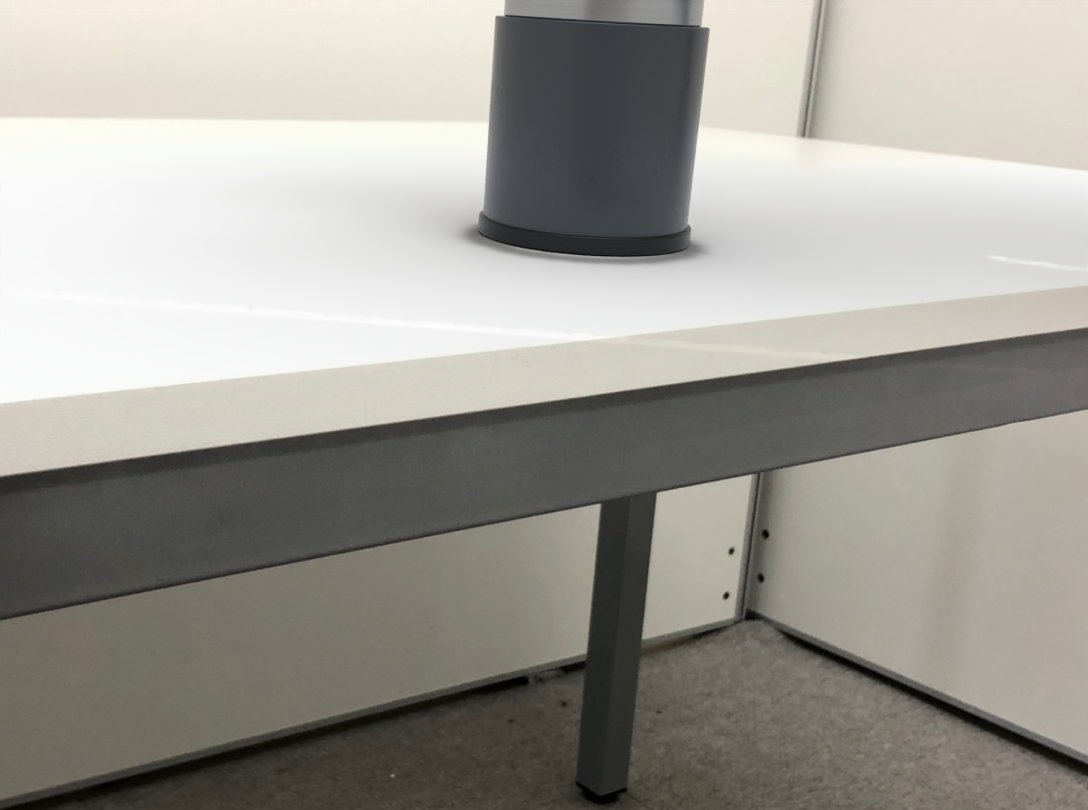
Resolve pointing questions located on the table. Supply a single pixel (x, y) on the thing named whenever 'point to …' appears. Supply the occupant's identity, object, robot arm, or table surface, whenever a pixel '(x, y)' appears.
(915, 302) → the table surface
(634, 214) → the dark grey upright cylinder
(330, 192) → the table surface
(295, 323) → the table surface
